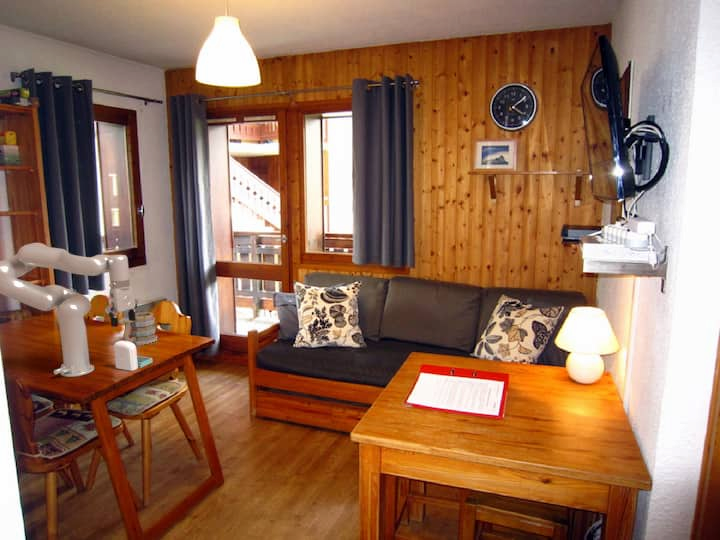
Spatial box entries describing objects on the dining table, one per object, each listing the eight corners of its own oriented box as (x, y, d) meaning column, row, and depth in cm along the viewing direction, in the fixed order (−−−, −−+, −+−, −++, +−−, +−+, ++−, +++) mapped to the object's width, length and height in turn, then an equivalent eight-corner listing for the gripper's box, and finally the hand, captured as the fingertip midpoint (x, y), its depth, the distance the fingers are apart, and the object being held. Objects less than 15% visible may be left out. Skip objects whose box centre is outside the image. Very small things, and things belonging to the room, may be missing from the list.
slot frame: (141, 367, 223) (140, 363, 222) (117, 364, 227) (117, 359, 227) (152, 362, 229) (152, 358, 229) (129, 359, 233) (129, 354, 233)
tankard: (145, 336, 268) (143, 308, 266) (162, 339, 262) (160, 311, 260) (111, 347, 251) (109, 317, 249) (128, 350, 245) (126, 320, 243)
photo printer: (114, 368, 222) (111, 341, 220) (122, 365, 226) (120, 338, 223) (131, 372, 218) (129, 344, 215) (139, 368, 221) (137, 341, 219)
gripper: (110, 288, 206) (114, 329, 209) (142, 280, 222) (145, 319, 225) (96, 287, 209) (100, 328, 211) (128, 280, 225) (132, 317, 227)
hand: (123, 323), depth 218 cm, fingers open, 9 cm apart
